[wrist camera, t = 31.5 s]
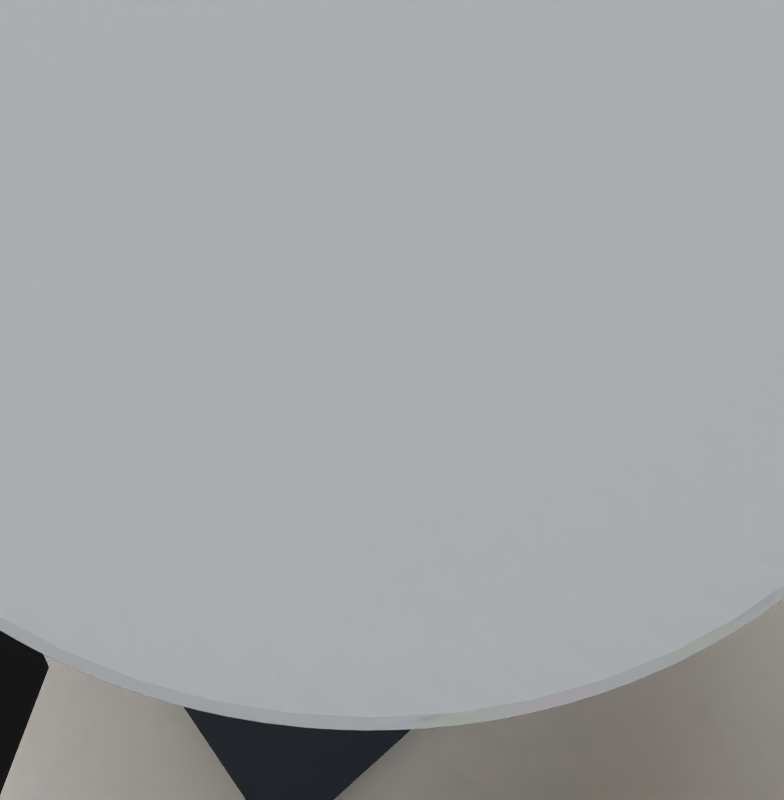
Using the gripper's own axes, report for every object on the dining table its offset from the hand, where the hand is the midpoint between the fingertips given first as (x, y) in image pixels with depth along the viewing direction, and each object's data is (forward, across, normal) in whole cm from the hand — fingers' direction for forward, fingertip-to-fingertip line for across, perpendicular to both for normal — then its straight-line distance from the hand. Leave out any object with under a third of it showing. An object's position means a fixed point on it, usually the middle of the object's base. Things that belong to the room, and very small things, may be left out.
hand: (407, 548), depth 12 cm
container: (+11, 0, -6) cm, 13 cm away
